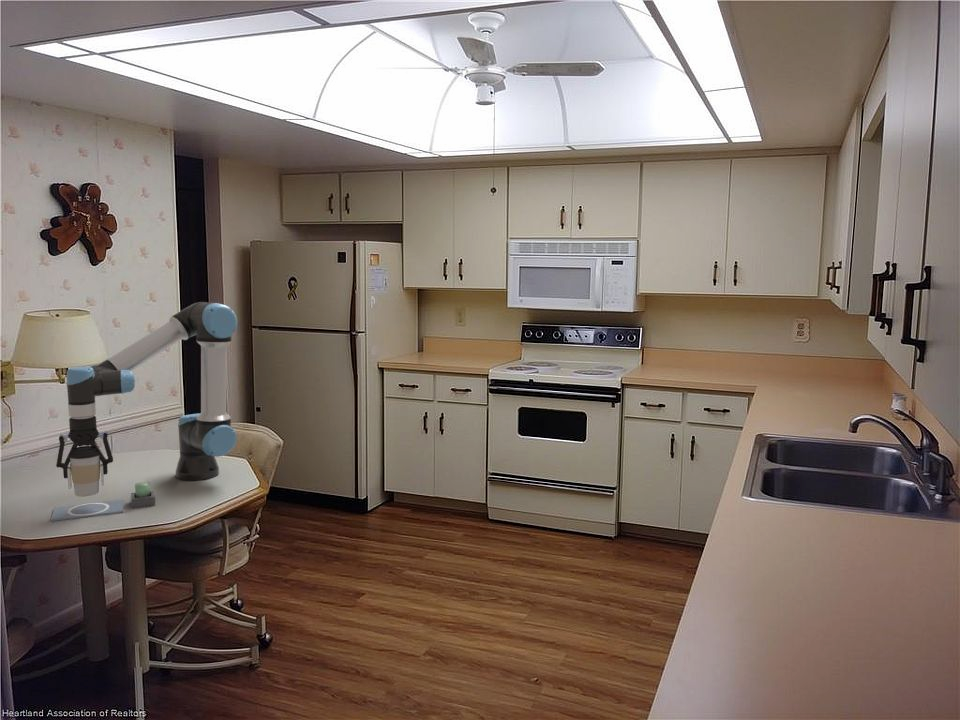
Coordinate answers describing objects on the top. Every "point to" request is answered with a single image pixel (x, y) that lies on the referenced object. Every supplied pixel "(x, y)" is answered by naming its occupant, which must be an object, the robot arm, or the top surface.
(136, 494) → the button
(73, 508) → the slate board
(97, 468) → the coffee cup
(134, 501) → the button housing
